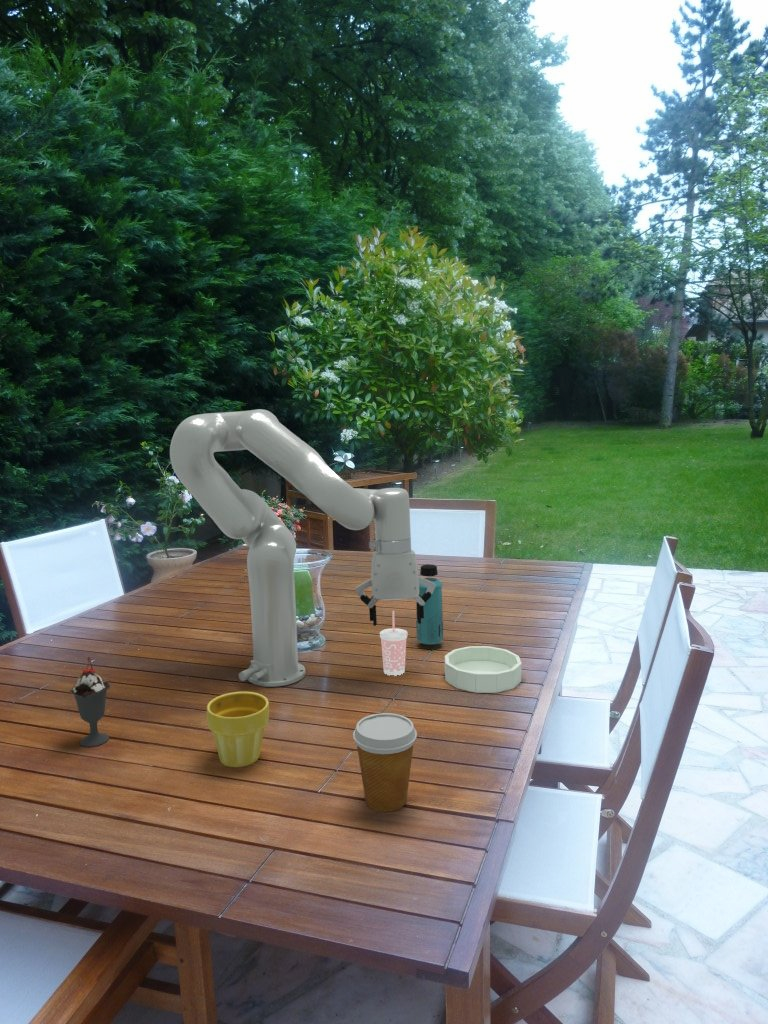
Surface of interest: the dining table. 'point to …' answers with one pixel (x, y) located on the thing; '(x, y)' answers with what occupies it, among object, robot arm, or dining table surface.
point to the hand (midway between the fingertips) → (397, 622)
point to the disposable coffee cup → (385, 759)
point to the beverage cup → (393, 649)
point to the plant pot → (238, 726)
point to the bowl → (483, 669)
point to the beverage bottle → (431, 610)
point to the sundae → (91, 704)
